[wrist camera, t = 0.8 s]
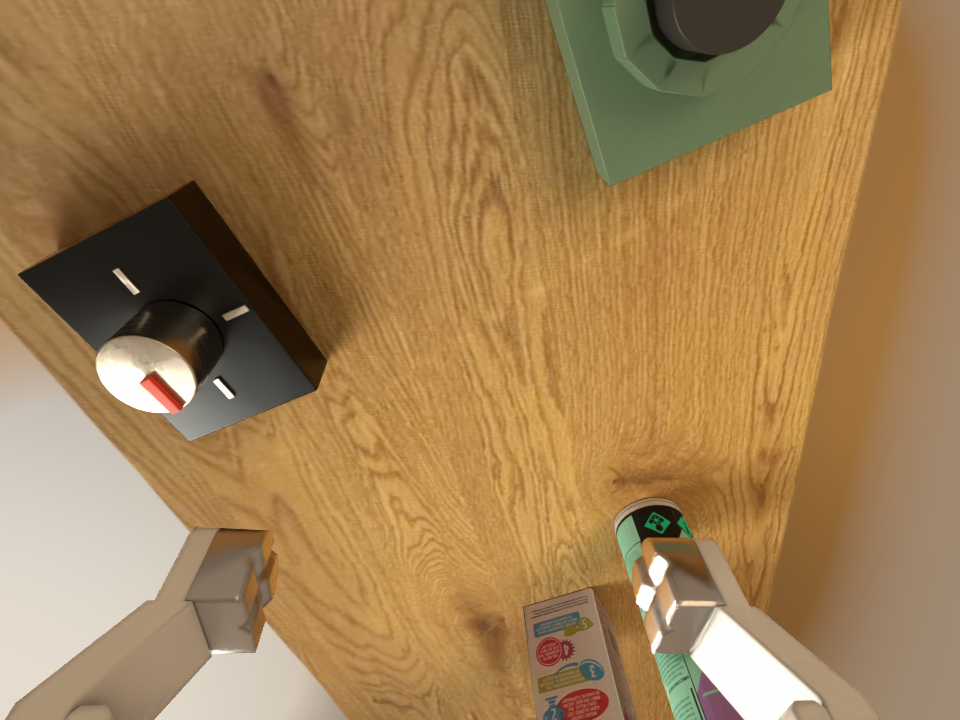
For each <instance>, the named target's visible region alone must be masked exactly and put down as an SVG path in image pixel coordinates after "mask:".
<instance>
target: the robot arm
mask: <svg viewBox="0 0 960 720" xmlns="http://www.w3.org/2000/svg"><path fill="white" fill-rule="evenodd" d="M273 543H274V537H273V533H272V531H270V530H248V529H226V528H195V529H194V530H193V531H192V532H191V533H190V534H189V535H188V537H187V539H186V541H185V543H184V545H183V547H182V549H181V550H180V552H179V554H178V556H177V558H176V560H175V562H174V564H173V566H172V568H171V570H170V572H169V574H168V576H167V577H166V579H165V581H164V583H163V585H162V587H161V589H160V591H159V593H158V595H157V597H156V599H155V600H154V601H146V602H144V603H143V604H142V605H141V606H139V607H138V608H137V609H136V610H134V611H133V612H132V613H130V614H129V615H128V616H127V617H125V618H124V619H123V620H121V621H120V622H119V623H118V624H117V625H115V626H114V627H112V628H111V629H110V630H109V631H107V632H106V633H105V634H103V635H102V636H101V637H100V638H98V639H97V640H96V641H94V642H93V643H92V644H91V645H89V646H88V647H87V648H86V649H84V650H83V651H82V652H80V653H79V654H78V655H77V656H75V657H74V658H73V659H71V660H70V661H69V662H68V663H66V664H65V665H64V666H62V667H61V668H60V669H59V670H57V671H56V672H55V673H54V674H52V675H51V676H50V677H49V678H47V679H46V680H45V681H43V682H42V683H41V684H39V685H38V686H37V687H36V688H34V689H33V690H32V691H30V692H29V693H28V694H27V695H26V696H24V697H23V698H22V699H20V700H19V701H18V702H16V704H15V705H14V706H13V708H12V710H11V711H10V713H9V714H8V716H7V717H6V719H5V720H154V719H155V718H156V717H157V716H158V715H159V713H161V711H162V710H163V709H164V708H165V707H166V706H167V705H168V704H169V703H170V702H171V700H172V699H173V698H174V697H175V696H176V695H177V694H178V693H179V692H180V691H181V690H182V688H183V687H184V686H185V685H186V684H187V683H188V682H189V681H190V680H191V679H192V677H193V676H194V675H195V674H196V673H197V672H198V671H199V670H200V668H202V666H203V665H204V664H205V663H206V662H207V661H208V660H209V659H210V658H211V654H217V653H218V654H220V653H255V652H256V649H257V646H258V642H259V639H260V636H261V633H262V630H263V627H264V624H265V621H266V620H265V616H264V611H263V608H264V607H265V606H266V605H267V604H268V603H269V602H270V601H271V600H272V598H273V595H274V591H275V588H276V583H277V577H278V557H277V554H276V553H275V552H273V551H272V550H271V549H272V546H273ZM640 549H641V552H642V554H643V555H642V556H641V557H639V558H638V559H637V560H635V562H634V565H633V568H632V580H631V583H632V589H633V594H634V597H635V600H636V604H638V605H639V606H640V607H641V608H642V609H643V610H644V611H645V612H646V615H645V618H644V621H643V626H644V629H645V632H646V635H647V638H648V641H649V644H650V647H651V650H652V653H664V654H691V655H690V657H691V658H692V659H693V660H694V662H695V663H696V664H697V665H698V666H699V668H700V669H701V670H702V671H703V672H704V673H705V675H706V676H707V677H708V678H709V679H710V680H711V682H712V683H713V684H714V685H715V686H716V687H717V689H718V690H719V691H720V692H721V693H722V694H723V696H724V697H725V698H726V699H727V700H728V701H729V703H730V704H731V705H732V706H733V707H734V709H735V710H736V711H737V712H738V713H739V714H740V716H741V717H742V718H743V719H744V720H879V719H878V717H877V716H876V714H875V713H874V711H873V709H872V708H871V706H870V704H869V703H868V701H867V699H866V698H865V697H864V696H862V695H861V694H860V693H859V692H858V691H857V690H855V689H854V688H853V687H852V686H851V685H849V684H848V683H847V682H846V681H844V680H843V679H842V678H841V677H840V676H839V675H837V674H836V673H835V672H834V671H832V669H830V668H829V667H828V666H827V665H826V664H824V663H823V662H822V661H821V660H820V659H818V658H817V657H816V656H815V655H814V654H812V653H811V652H810V651H809V650H808V649H806V648H805V647H804V646H803V645H802V644H801V643H799V642H798V641H797V640H796V639H795V638H793V637H792V636H791V635H790V634H789V633H787V632H786V631H785V630H784V629H783V628H781V627H780V626H779V625H778V624H777V623H775V622H774V621H773V620H772V619H771V618H770V617H768V616H767V615H766V614H765V613H764V612H762V611H761V610H760V609H759V608H758V607H755V606H750V605H749V603H748V602H747V600H746V598H745V596H744V594H743V592H742V590H741V588H740V586H739V584H738V582H737V580H736V578H735V577H734V575H733V573H732V571H731V569H730V567H729V565H728V563H727V561H726V559H725V557H724V555H723V554H722V552H721V550H720V548H719V546H718V544H717V543H716V542H715V541H714V540H713V539H694V538H691V539H689V538H646V539H645V540H643V542H642V545H641V547H640Z"/></svg>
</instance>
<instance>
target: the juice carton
mask: <svg viewBox="0 0 960 720" xmlns="http://www.w3.org/2000/svg"><path fill="white" fill-rule="evenodd" d="M523 610H524V618H525V627H526V635H527V643H528V652H529V660H530V668H531V677H532V685H533V693H534V701H535V710H536V718H537V720H638V718H637V715H636V711H635V707H634V703H633V700H632V696H631V692H630V688H629V684H628V681H627V677H626V673H625V669H624V666H623V662H622V658H621V654H620V650H619V647H618V643H617V639H616V635H615V632H614V628H613V624H612V622H611V620H610V618H609V616H608V615H607V613H606V611H605V609H604V608H603V606H602V604H601V602H600V600H599V599H598V597H597V595H596V593H595V592H594V590H593V588H592V587H591V588H587V589H584V590H580V591H577V592H574V593H570V594H567V595H563V596H560V597H556V598H553V599H550V600H546V601H543V602H539V603H536V604H533V605H529V606H526V607H523Z"/></svg>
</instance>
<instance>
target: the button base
mask: <svg viewBox="0 0 960 720" xmlns="http://www.w3.org/2000/svg"><path fill="white" fill-rule="evenodd" d="M545 2H546V6H547V9H548V12H549V16H550V19H551V22H552V26H553V29H554V32H555V36H556V39H557V42H558V45H559V49H560V52H561V55H562V59H563V62H564V65H565V69H566V72H567V75H568V79H569V82H570V85H571V89H572V92H573V95H574V99H575V102H576V105H577V109H578V112H579V115H580V119H581V122H582V125H583V129H584V132H585V135H586V139H587V142H588V145H589V149H590V152H591V155H592V159H593V162H594V165H595V169H596V172H597V173H598V174H599V175H600V176H601V177H602V178H603V179H604V180H605V181H606V182H607V184H608V185H609V186H613V185H615V184H617V183H619V182H622V181H624V180H626V179H629V178H631V177H633V176H635V175H638V174H640V173H642V172H645V171H647V170H649V169H651V168H654V167H656V166H658V165H661V164H663V163H665V162H667V161H670V160H672V159H674V158H677V157H679V156H681V155H683V154H686V153H688V152H690V151H693V150H695V149H697V148H699V147H702V146H704V145H706V144H709V143H711V142H713V141H715V140H718V139H720V138H722V137H725V136H727V135H729V134H731V133H734V132H736V131H738V130H741V129H743V128H745V127H747V126H750V125H752V124H754V123H757V122H759V121H761V120H763V119H766V118H768V117H770V116H773V115H775V114H777V113H779V112H782V111H784V110H786V109H789V108H791V107H793V106H795V105H798V104H800V103H802V102H805V101H807V100H809V99H811V98H814V97H816V96H818V95H821V94H823V93H825V92H827V91H830V90H832V74H831V51H830V29H829V7H828V0H785V2H784V4H783V6H782V8H781V10H780V12H779V13H778V15H777V16H776V18H775V19H774V21H773V22H772V23H771V24H770V26H769V27H768V28H767V29H766V30H765V31H764V32H763V33H762V34H761V35H760V36H759V37H758V38H757V39H756V40H754V41H753V42H751V43H750V44H749V45H747V46H745V47H743V48H742V49H739V50H737V51H734V52H731V53H727V54H721V55H712V54H704V53H697V52H690V51H685V50H682V49H680V48H678V47H676V46H674V45H673V44H672V43H671V42H669V41H668V40H667V39H666V37H665V36H664V35H663V33H662V32H661V30H660V28H659V26H658V23H657V20H656V16H655V11H654V0H545Z"/></svg>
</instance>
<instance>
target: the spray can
mask: <svg viewBox="0 0 960 720" xmlns="http://www.w3.org/2000/svg"><path fill="white" fill-rule="evenodd" d="M614 529H615V533H616V537H617V540H618V543H619V546H620V549H621V552H622V555H623V559H624V562H625V565H626V568H627V571H628V574H629V577H630V580H632V568H633V565H634V562H635V560H637V559H638V558H639V557H641V556H642V555H643V554H642V552H641V549H640V547H641V545H642V542H643V540H645V539H646V538H689V539H691V538H693V535H692V533H691V531H690V529H689V527H688V525H687V523H686V520H685V518H684V516H683V514H682V512H681V510H680V508H679V507H678V506H677V505H676V504H675V503H674V502H672V501H670V500H667V499H662V498H648V499H643V500H639V501H637V502H634V503H632V504H630V505H628V506H627V507H625V508H624V509H623V510H622V511H621V512H620V513H619V514H618V515H617V517H616V519H615V522H614ZM631 584H632V583H631ZM639 609H640V612H641V615H642V618H643V621H644V618H645V615H646V612H645V611H644V610H643V609H642V608H641V607H640V606H639ZM690 655H691V654H664V653H654V656H655V659H656V662H657V665H658V668H659V671H660V674H661V678H662V681H663V684H664V687H665V690H666V693H667V696H668V699H669V703H670V706H671V709H672V712H673V715H674V718H675V720H744V719H743V718H742V717H741V716H740V714H739V713H738V712H737V711H736V710H735V709H734V707H733V706H732V705H731V704H730V703H729V701H728V700H727V699H726V698H725V697H724V696H723V694H722V693H721V692H720V691H719V690H718V689H717V687H716V686H715V685H714V684H713V683H712V682H711V680H710V679H709V678H708V677H707V676H706V675H705V673H704V672H703V671H702V670H701V669H700V668H699V666H698V665H697V664H696V663H695V662H694V660H693V659H692V658H691V657H690Z"/></svg>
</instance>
